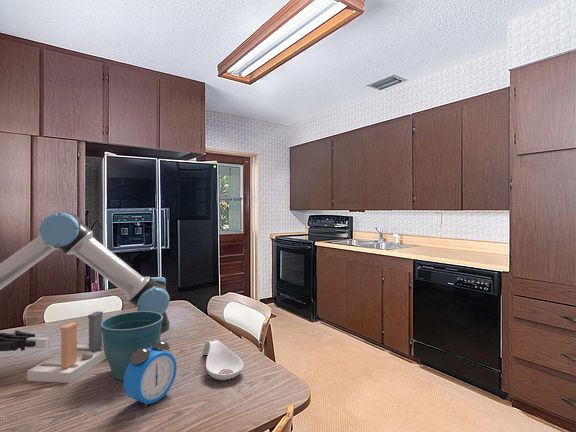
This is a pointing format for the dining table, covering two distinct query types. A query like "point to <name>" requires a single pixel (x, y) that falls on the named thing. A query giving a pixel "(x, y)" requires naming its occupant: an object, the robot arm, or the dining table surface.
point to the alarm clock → (150, 373)
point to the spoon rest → (221, 360)
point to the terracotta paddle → (68, 344)
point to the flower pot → (128, 337)
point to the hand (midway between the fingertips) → (47, 343)
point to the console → (56, 373)
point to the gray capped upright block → (95, 331)
